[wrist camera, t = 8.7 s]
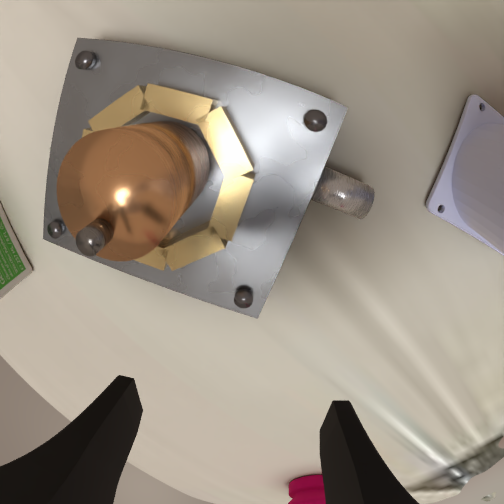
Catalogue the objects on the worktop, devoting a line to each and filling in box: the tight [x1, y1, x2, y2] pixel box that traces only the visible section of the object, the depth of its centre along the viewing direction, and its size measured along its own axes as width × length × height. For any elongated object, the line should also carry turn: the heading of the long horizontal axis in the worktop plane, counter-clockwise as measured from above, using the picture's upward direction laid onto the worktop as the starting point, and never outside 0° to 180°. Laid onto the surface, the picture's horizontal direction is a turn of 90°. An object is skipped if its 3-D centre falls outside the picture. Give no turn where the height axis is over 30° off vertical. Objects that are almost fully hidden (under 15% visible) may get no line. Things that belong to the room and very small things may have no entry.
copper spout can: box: [57, 121, 210, 261], centre depth 11 cm, size 4×4×7 cm
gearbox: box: [43, 38, 374, 319], centre depth 15 cm, size 17×12×4 cm
